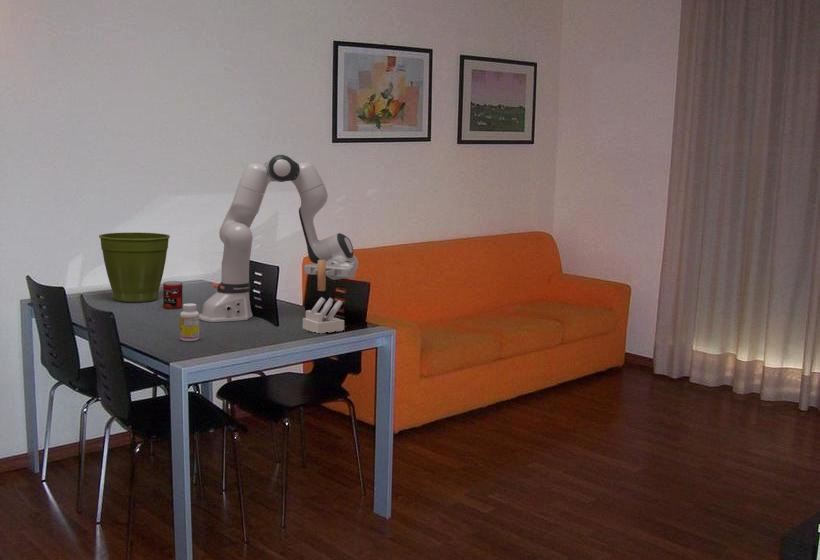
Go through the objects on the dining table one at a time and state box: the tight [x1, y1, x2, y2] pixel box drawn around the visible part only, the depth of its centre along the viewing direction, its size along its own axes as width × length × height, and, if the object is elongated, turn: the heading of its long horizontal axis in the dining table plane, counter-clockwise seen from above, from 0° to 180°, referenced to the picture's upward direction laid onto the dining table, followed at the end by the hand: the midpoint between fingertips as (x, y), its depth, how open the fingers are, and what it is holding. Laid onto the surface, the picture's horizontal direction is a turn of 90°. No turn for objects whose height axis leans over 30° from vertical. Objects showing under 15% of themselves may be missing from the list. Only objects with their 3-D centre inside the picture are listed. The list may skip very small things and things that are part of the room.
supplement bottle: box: [179, 302, 200, 342], centre depth 305 cm, size 7×7×13 cm
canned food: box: [162, 280, 183, 310], centre depth 363 cm, size 8×8×11 cm
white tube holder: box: [302, 296, 345, 334], centre depth 332 cm, size 14×11×13 cm
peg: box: [317, 260, 327, 292], centre depth 336 cm, size 3×3×12 cm
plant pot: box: [98, 231, 171, 303], centre depth 378 cm, size 30×30×29 cm
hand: (320, 273), depth 335 cm, fingers closed on peg, 3 cm apart
